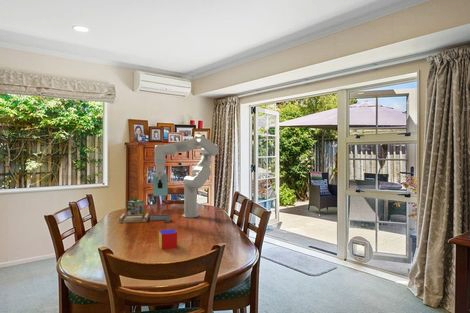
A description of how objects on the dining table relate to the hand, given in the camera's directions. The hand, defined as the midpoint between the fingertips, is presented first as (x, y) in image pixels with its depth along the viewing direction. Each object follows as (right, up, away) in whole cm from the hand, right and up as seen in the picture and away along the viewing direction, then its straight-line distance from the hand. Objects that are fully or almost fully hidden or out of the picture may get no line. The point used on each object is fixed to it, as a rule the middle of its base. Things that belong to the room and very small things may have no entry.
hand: (160, 187), depth 224 cm
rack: (-18, -24, -1) cm, 30 cm away
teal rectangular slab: (0, -6, 0) cm, 6 cm away
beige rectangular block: (-17, -23, -6) cm, 29 cm away
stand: (0, -24, 0) cm, 24 cm away
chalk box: (-24, -24, +18) cm, 38 cm away
